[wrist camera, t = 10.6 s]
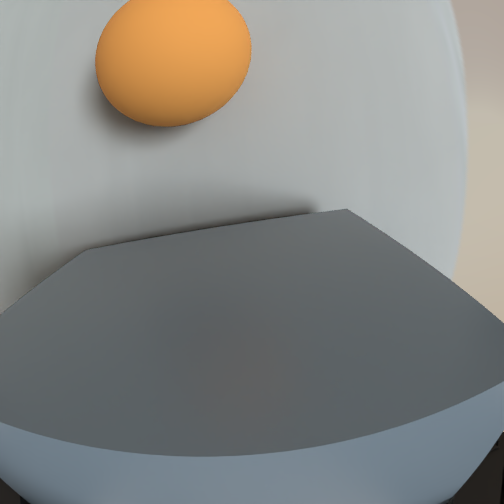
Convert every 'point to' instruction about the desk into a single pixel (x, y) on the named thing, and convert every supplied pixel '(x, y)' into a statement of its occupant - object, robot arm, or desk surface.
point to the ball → (172, 59)
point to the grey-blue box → (249, 372)
